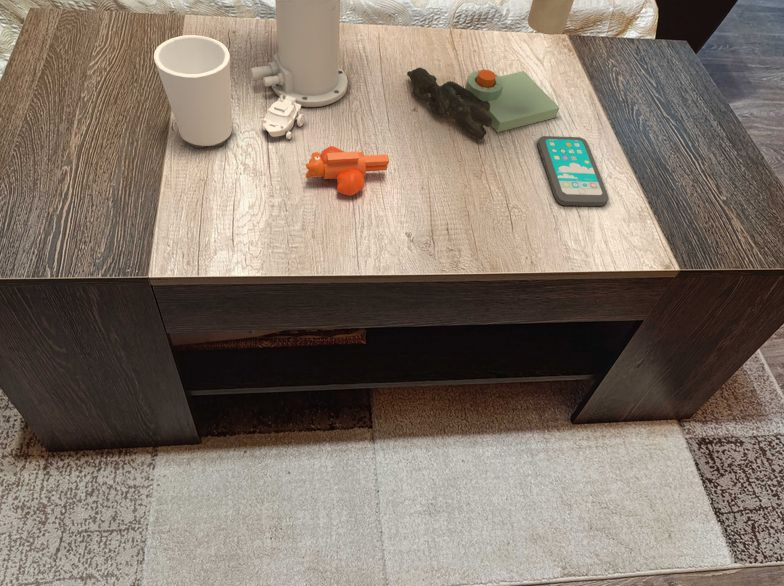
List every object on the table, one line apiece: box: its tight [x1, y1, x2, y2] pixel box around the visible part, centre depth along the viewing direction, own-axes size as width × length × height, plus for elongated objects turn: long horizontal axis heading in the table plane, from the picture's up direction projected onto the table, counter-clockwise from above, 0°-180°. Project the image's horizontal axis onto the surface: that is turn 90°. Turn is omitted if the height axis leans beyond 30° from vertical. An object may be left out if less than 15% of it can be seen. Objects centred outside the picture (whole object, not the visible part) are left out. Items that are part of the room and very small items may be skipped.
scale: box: [464, 70, 560, 133], centre depth 104 cm, size 13×12×4 cm
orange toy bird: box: [305, 145, 390, 197], centre depth 89 cm, size 5×8×12 cm
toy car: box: [261, 95, 305, 140], centre depth 94 cm, size 5×8×4 cm, turn 160°
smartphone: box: [537, 135, 609, 207], centre depth 97 cm, size 9×1×15 cm
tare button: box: [476, 69, 497, 88], centre depth 102 cm, size 3×3×2 cm
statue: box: [406, 66, 492, 140], centre depth 100 cm, size 6×6×20 cm
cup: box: [153, 34, 233, 149], centre depth 88 cm, size 10×10×13 cm
